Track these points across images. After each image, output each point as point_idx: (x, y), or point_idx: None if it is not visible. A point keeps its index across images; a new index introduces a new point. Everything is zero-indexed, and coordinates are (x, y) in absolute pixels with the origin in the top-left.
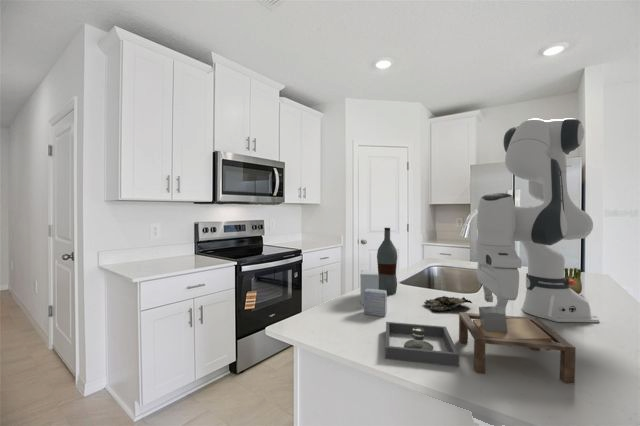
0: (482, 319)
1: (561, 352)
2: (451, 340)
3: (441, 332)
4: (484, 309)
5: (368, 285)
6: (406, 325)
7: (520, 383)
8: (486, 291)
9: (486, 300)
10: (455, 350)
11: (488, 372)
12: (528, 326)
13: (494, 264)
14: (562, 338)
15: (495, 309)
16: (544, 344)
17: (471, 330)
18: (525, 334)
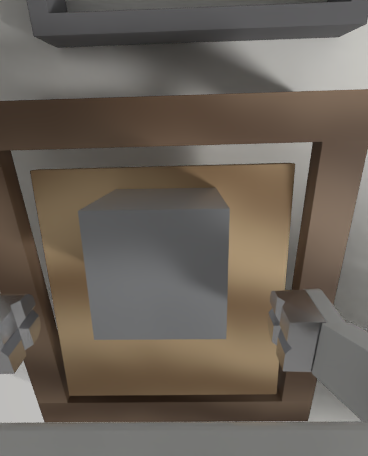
0: (158, 196)
1: None
2: (182, 25)
3: (338, 1)
4: (160, 234)
5: None
6: None
7: (32, 222)
8: (353, 362)
9: (275, 295)
10: (73, 26)
11: (59, 150)
12: (182, 369)
13: None
14: (110, 419)
15: (157, 302)
16: (24, 358)
17: (51, 101)
18: None
